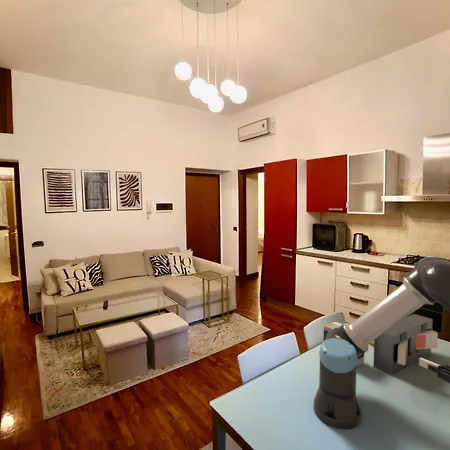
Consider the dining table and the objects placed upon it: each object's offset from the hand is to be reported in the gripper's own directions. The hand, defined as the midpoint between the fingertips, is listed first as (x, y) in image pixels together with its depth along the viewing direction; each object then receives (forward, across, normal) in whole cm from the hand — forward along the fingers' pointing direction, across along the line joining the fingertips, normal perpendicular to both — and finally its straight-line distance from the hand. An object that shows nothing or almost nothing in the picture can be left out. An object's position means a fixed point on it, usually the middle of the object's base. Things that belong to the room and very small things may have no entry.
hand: (420, 361), depth 113 cm
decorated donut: (+27, +19, -10) cm, 34 cm away
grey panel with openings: (+12, +13, -9) cm, 20 cm away
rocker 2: (+8, +22, -4) cm, 24 cm away
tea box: (+28, -10, -9) cm, 31 cm away
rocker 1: (+8, +4, -4) cm, 10 cm away
